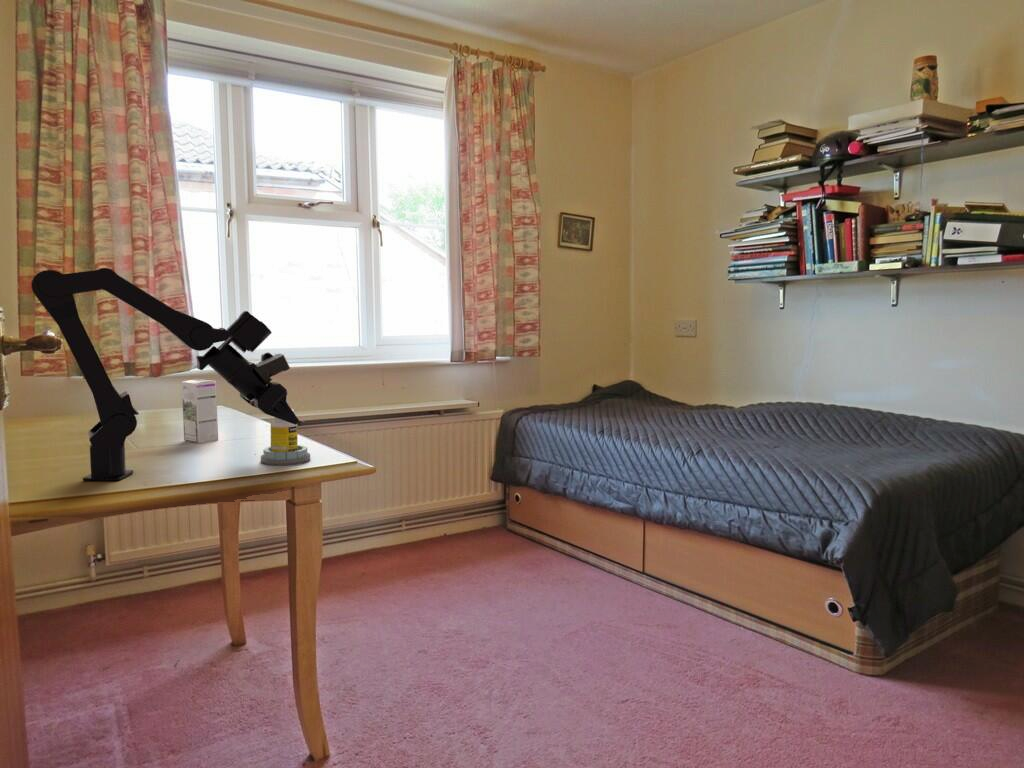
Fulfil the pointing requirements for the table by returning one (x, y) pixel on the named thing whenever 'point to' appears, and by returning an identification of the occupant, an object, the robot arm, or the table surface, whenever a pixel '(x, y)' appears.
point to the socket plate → (285, 456)
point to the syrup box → (199, 411)
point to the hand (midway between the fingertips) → (291, 419)
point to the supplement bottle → (283, 436)
